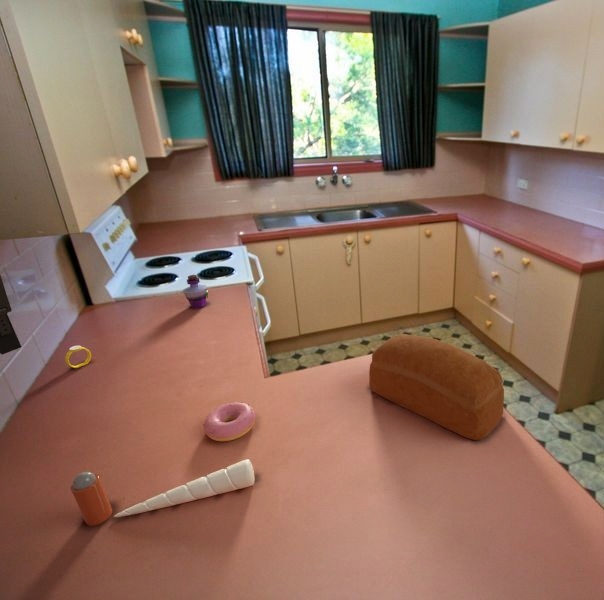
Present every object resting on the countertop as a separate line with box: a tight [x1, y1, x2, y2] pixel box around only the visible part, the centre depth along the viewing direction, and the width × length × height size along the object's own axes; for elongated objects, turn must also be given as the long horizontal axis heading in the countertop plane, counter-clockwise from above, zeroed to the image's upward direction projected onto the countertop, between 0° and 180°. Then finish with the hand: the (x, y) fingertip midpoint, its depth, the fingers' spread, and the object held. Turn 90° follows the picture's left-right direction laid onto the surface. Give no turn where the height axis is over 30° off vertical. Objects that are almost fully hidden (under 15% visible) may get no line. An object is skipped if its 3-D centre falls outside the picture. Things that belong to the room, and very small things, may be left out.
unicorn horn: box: [113, 459, 256, 518], centre depth 78 cm, size 5×24×5 cm, turn 106°
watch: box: [64, 344, 92, 369], centre depth 121 cm, size 6×3×6 cm, turn 151°
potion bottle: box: [182, 274, 209, 309], centre depth 158 cm, size 9×9×12 cm
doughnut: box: [203, 401, 257, 442], centre depth 95 cm, size 11×11×4 cm
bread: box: [368, 333, 505, 441], centre depth 100 cm, size 14×33×16 cm, turn 50°
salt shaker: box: [70, 471, 113, 527], centre depth 73 cm, size 4×4×10 cm
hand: (10, 349), depth 71 cm, fingers closed
